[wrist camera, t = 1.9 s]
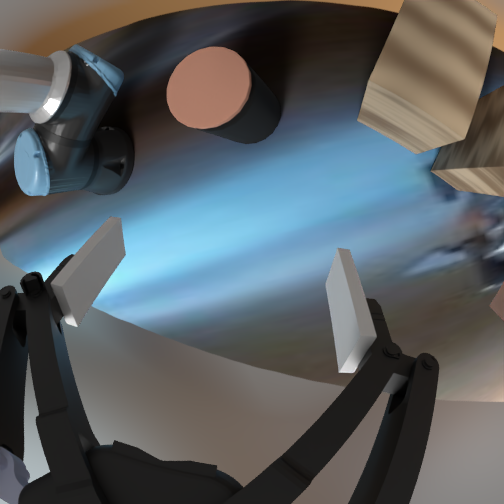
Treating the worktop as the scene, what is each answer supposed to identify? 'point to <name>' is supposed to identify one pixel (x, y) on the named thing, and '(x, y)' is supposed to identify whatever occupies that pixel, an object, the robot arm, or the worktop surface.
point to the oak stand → (441, 92)
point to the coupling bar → (499, 303)
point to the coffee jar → (222, 96)
